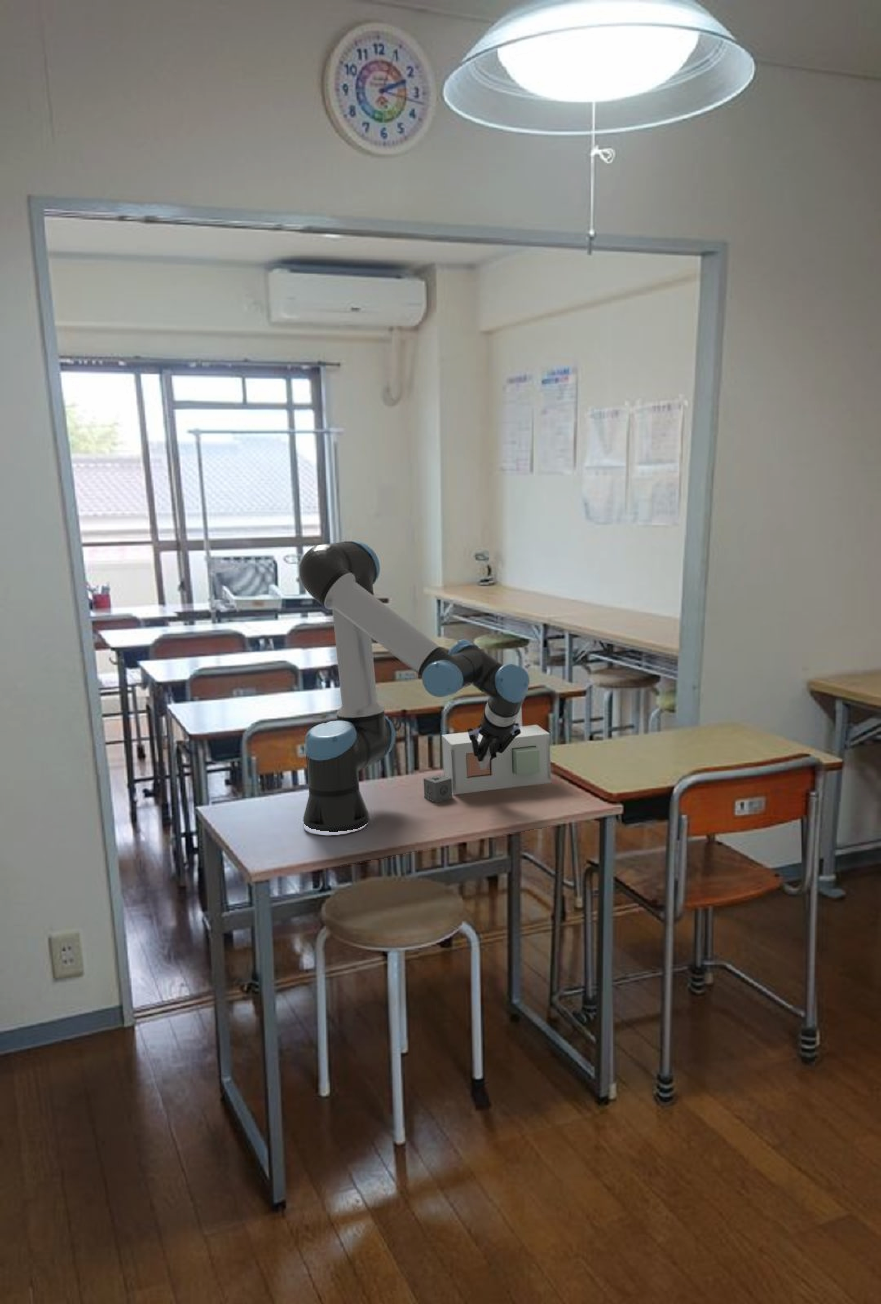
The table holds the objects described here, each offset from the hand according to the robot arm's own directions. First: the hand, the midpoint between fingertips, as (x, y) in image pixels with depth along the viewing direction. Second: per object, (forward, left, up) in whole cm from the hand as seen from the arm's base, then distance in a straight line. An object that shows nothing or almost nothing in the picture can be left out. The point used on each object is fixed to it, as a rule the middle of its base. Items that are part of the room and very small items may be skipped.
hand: (482, 764), depth 228 cm
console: (+6, +8, -8) cm, 12 cm away
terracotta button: (0, +7, -4) cm, 8 cm away
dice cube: (-11, +2, -8) cm, 14 cm away
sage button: (+12, +3, -4) cm, 13 cm away
